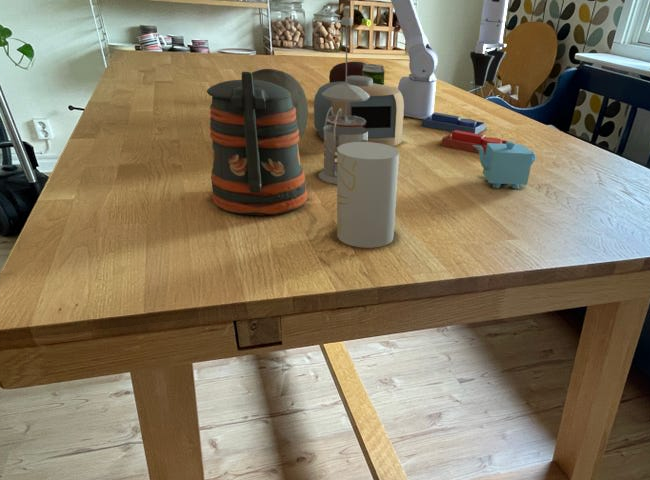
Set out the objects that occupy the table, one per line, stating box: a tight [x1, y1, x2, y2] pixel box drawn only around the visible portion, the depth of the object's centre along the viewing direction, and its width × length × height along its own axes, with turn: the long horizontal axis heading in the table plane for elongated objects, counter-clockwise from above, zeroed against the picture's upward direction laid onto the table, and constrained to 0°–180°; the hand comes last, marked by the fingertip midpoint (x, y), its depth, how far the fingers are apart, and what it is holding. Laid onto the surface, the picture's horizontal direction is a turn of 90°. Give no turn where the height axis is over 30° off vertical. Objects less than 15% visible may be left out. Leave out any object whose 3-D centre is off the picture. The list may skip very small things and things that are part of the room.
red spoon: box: [451, 130, 503, 146], centre depth 123 cm, size 11×4×2 cm, turn 64°
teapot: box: [472, 140, 536, 189], centre depth 101 cm, size 12×6×8 cm, turn 94°
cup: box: [336, 142, 400, 249], centre depth 76 cm, size 8×8×12 cm
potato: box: [328, 61, 366, 83], centre depth 151 cm, size 11×13×10 cm
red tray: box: [441, 132, 508, 155], centre depth 124 cm, size 14×8×2 cm, turn 64°
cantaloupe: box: [251, 68, 309, 141], centre depth 105 cm, size 14×14×15 cm
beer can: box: [362, 63, 385, 85], centre depth 136 cm, size 5×5×12 cm
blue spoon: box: [432, 111, 478, 128], centre depth 137 cm, size 11×4×2 cm, turn 64°
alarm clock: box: [313, 76, 404, 148], centre depth 121 cm, size 19×20×12 cm
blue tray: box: [421, 115, 487, 134], centre depth 137 cm, size 14×8×2 cm, turn 64°
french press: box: [318, 16, 370, 185], centre depth 93 cm, size 10×12×25 cm
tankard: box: [206, 71, 308, 217], centre depth 80 cm, size 19×15×20 cm
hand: (484, 83), depth 139 cm, fingers open, 7 cm apart
